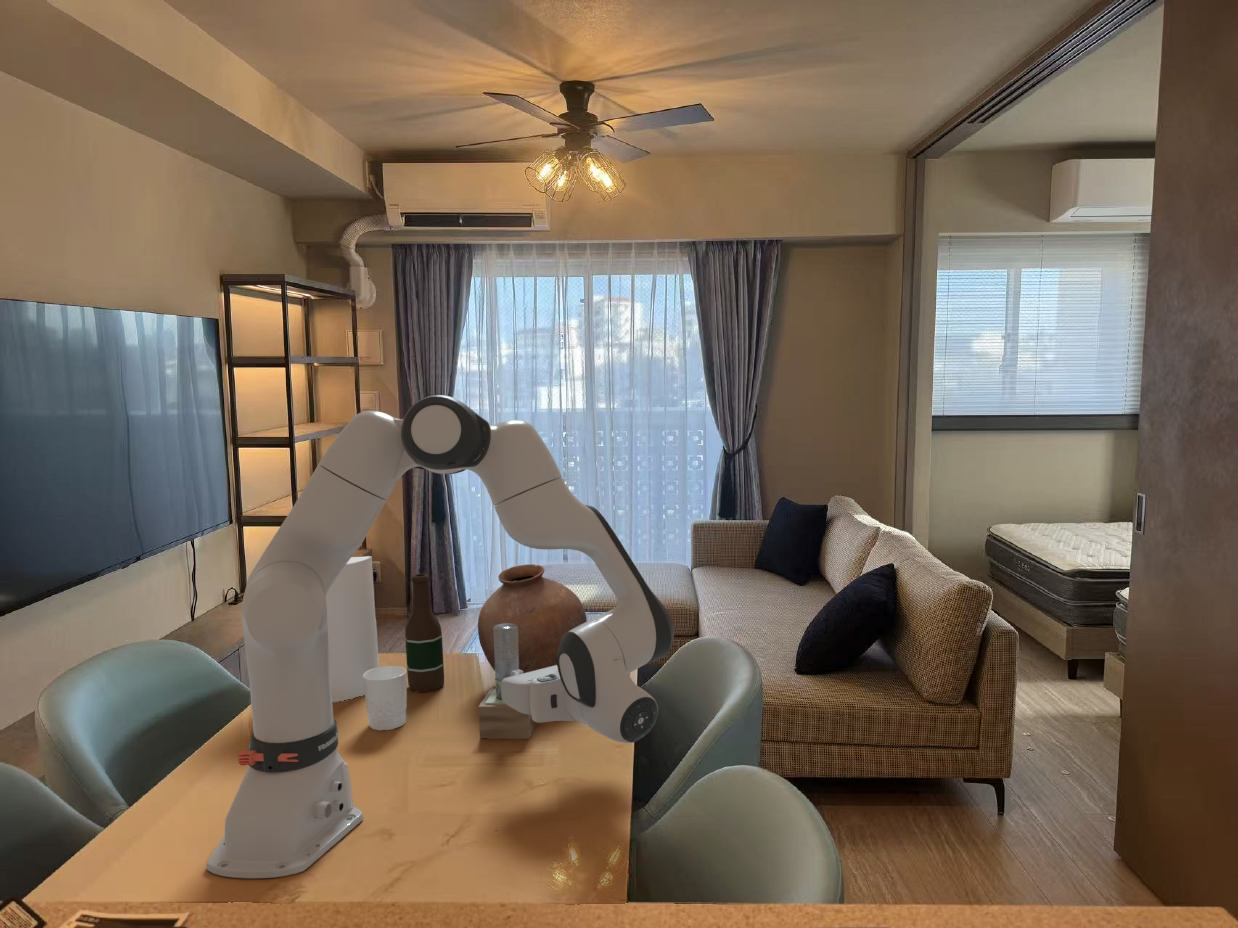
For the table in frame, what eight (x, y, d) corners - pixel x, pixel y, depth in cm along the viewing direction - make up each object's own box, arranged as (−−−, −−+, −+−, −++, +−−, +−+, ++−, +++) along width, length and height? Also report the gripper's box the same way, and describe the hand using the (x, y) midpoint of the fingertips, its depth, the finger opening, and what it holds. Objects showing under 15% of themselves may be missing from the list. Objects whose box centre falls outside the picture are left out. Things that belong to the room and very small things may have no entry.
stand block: (529, 739, 156) (527, 705, 155) (480, 738, 157) (478, 704, 156) (538, 719, 165) (537, 687, 164) (492, 719, 166) (490, 686, 165)
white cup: (415, 716, 169) (412, 665, 168) (400, 732, 161) (397, 679, 160) (375, 715, 170) (372, 665, 169) (359, 732, 162) (356, 679, 161)
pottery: (597, 666, 194) (593, 555, 192) (577, 704, 172) (572, 580, 169) (498, 664, 198) (493, 555, 195) (465, 702, 175) (459, 579, 172)
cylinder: (373, 699, 178) (364, 564, 175) (285, 706, 176) (275, 569, 173) (385, 671, 195) (377, 548, 193) (305, 677, 193) (296, 552, 191)
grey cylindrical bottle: (518, 700, 158) (515, 630, 156) (492, 700, 158) (490, 630, 157) (523, 691, 162) (520, 623, 161) (498, 690, 163) (496, 623, 161)
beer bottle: (440, 692, 181) (434, 578, 179) (403, 693, 181) (396, 579, 179) (448, 679, 189) (442, 570, 186) (412, 680, 189) (406, 571, 186)
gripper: (634, 657, 144) (589, 638, 155) (525, 685, 132) (484, 663, 144) (636, 694, 144) (591, 672, 156) (527, 725, 133) (486, 700, 144)
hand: (539, 668), depth 150 cm, fingers open, 8 cm apart
